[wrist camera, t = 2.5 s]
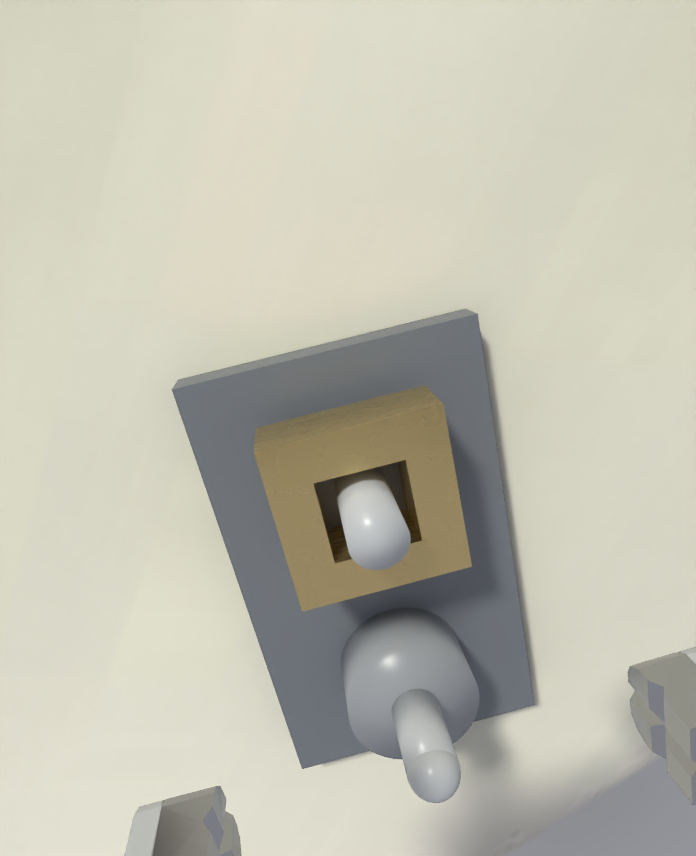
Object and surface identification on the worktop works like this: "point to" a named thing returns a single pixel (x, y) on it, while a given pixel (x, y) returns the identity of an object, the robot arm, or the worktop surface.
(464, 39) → the worktop surface
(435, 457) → the tan square ring
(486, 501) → the mount board
